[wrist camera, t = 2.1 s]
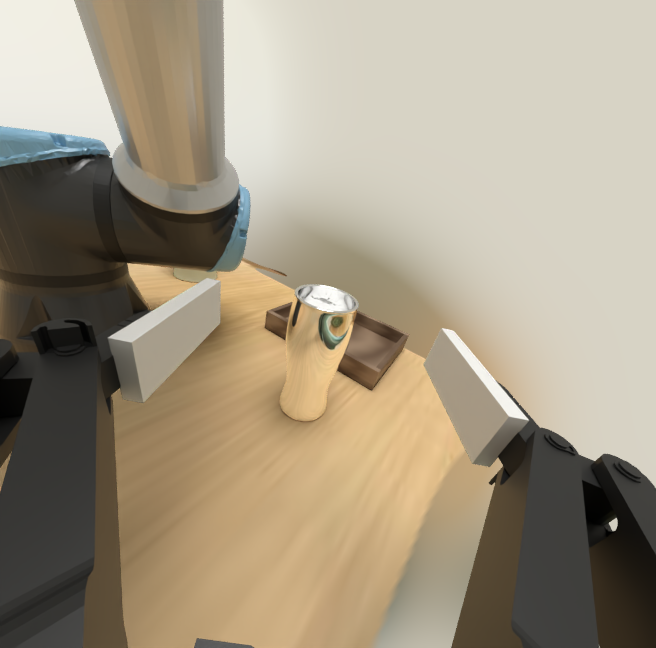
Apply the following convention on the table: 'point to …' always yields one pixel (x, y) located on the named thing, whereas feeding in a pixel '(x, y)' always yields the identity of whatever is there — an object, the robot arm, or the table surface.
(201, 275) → the can
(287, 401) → the beer glass
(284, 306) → the walnut tray
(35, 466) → the robot arm
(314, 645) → the table surface
